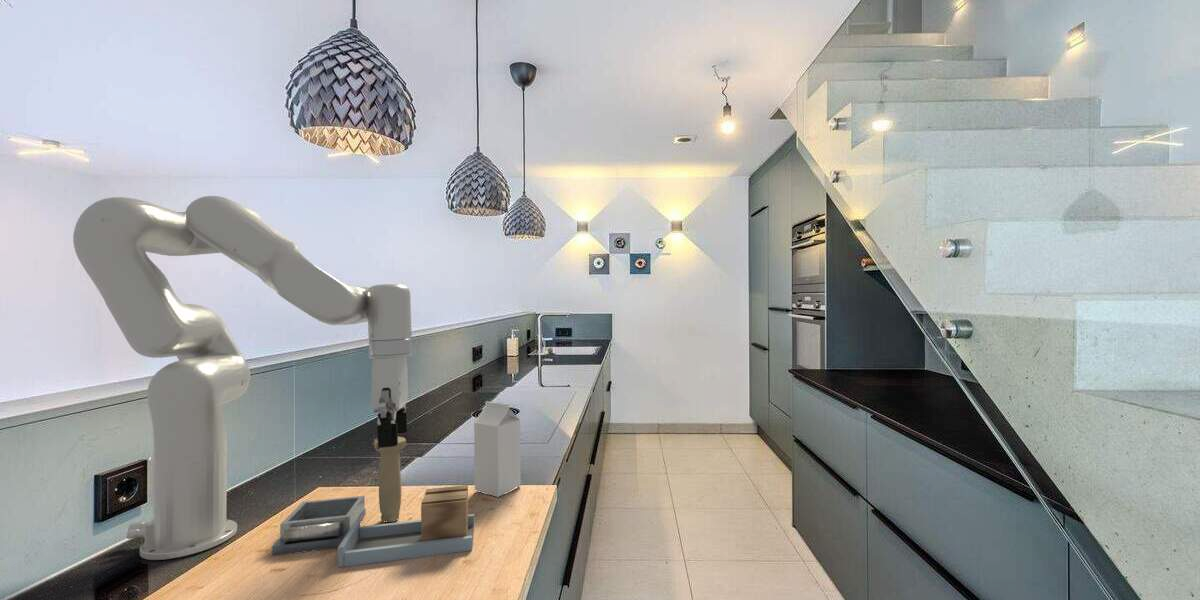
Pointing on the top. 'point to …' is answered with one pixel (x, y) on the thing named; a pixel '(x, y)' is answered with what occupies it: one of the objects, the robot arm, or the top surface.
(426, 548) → the bay
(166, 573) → the top surface
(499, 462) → the milk carton
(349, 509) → the gray square tray
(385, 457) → the handle
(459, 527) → the crate
